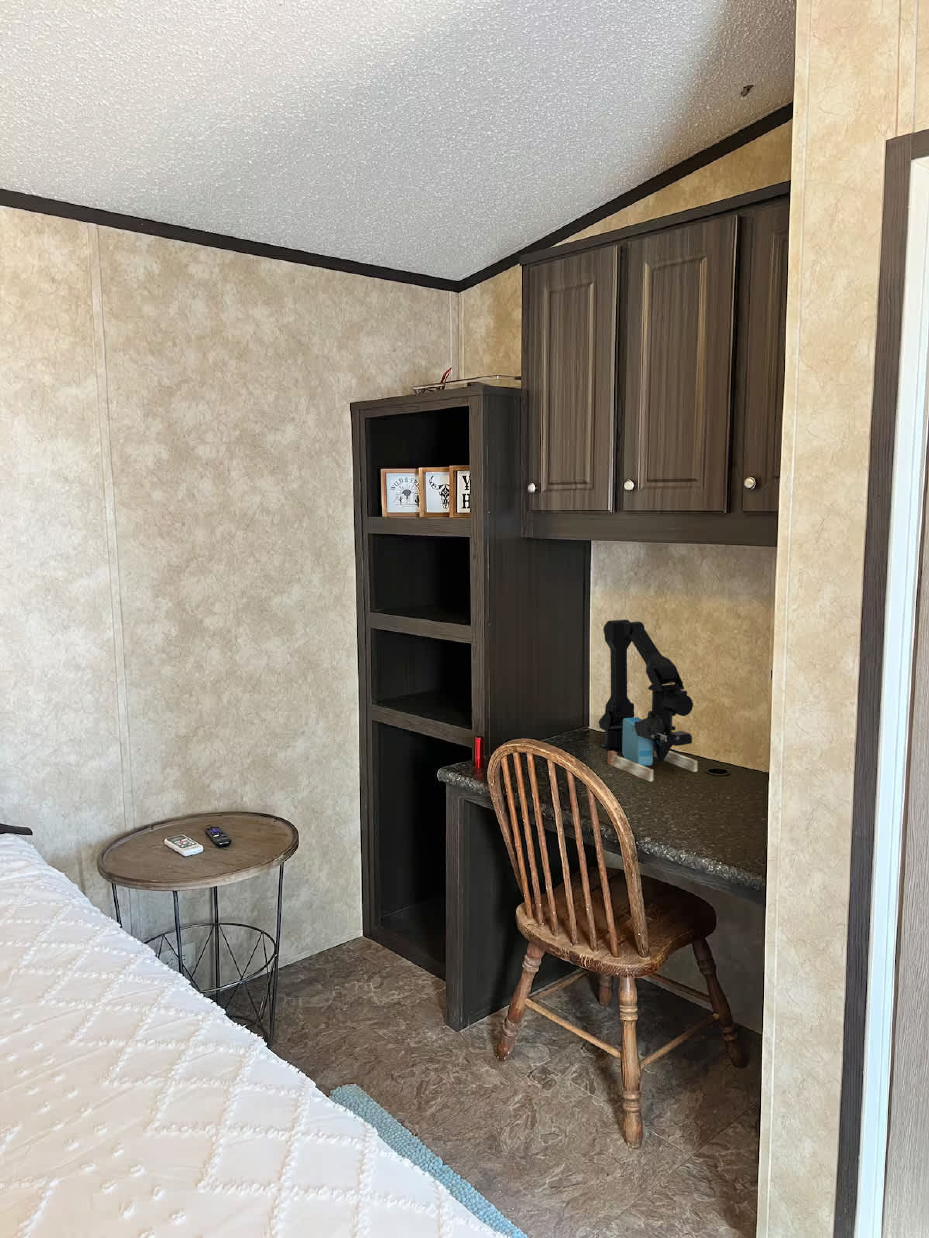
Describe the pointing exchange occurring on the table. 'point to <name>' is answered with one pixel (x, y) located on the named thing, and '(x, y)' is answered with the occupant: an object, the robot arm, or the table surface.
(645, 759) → the data package
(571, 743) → the table surface
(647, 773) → the bay
